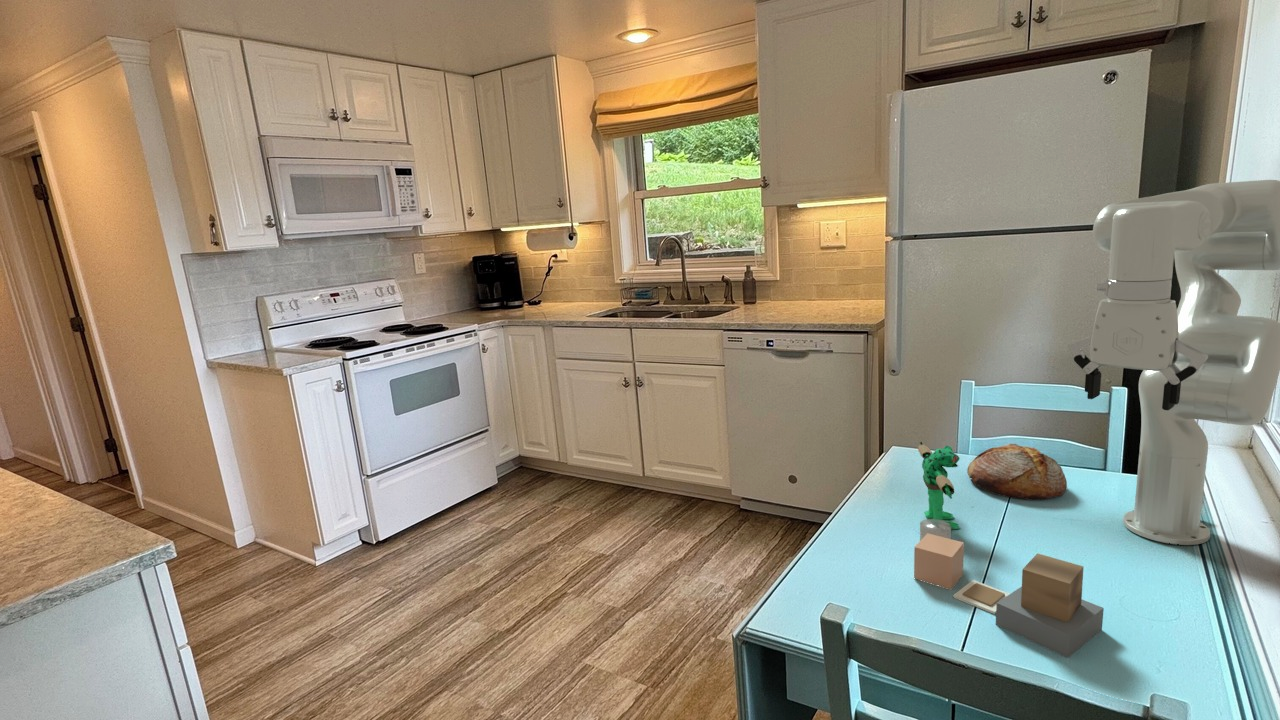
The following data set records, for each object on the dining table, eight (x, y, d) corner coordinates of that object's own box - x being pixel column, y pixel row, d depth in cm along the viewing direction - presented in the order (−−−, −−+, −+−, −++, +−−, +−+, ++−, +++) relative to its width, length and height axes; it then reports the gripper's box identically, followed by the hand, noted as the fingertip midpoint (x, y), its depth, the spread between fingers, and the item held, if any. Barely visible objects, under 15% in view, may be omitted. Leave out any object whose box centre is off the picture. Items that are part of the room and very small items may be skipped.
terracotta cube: (926, 564, 117) (927, 533, 116) (962, 574, 113) (963, 542, 112) (914, 579, 113) (914, 547, 112) (951, 590, 109) (952, 557, 108)
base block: (1030, 602, 105) (1031, 579, 104) (1101, 632, 97) (1103, 608, 96) (995, 626, 100) (996, 602, 99) (1067, 660, 92) (1069, 634, 91)
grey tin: (928, 546, 123) (929, 516, 122) (955, 555, 119) (956, 524, 118) (914, 556, 120) (914, 525, 119) (940, 566, 117) (941, 534, 115)
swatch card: (973, 582, 111) (973, 578, 111) (1014, 597, 106) (1014, 593, 106) (953, 597, 107) (953, 593, 107) (994, 614, 102) (994, 610, 102)
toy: (976, 554, 119) (979, 476, 116) (937, 553, 121) (939, 475, 118) (942, 495, 144) (943, 429, 141) (910, 494, 145) (911, 429, 142)
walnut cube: (1035, 589, 101) (1037, 553, 100) (1081, 603, 97) (1083, 566, 96) (1021, 606, 98) (1022, 569, 96) (1067, 622, 93) (1069, 583, 92)
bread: (1056, 514, 134) (1058, 468, 132) (954, 491, 148) (954, 449, 145) (1076, 483, 145) (1079, 440, 143) (980, 464, 159) (980, 425, 156)
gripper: (1063, 292, 103) (1057, 398, 107) (1205, 297, 89) (1193, 419, 93) (1082, 286, 107) (1076, 388, 111) (1221, 290, 94) (1208, 406, 97)
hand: (1129, 402), depth 102 cm, fingers open, 9 cm apart
